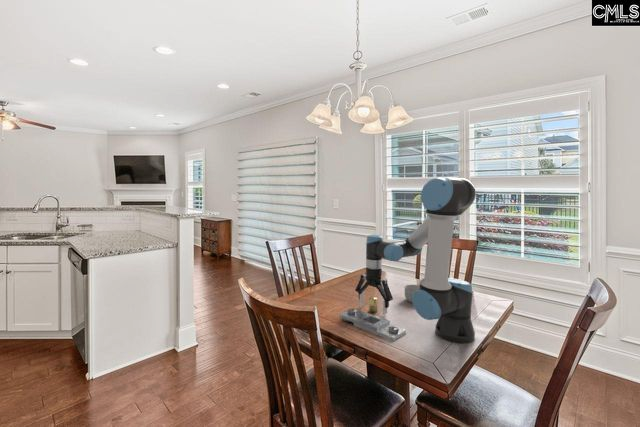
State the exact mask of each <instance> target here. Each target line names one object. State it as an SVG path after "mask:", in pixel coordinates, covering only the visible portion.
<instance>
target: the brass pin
mask: <svg viewBox="0 0 640 427" xmlns="http://www.w3.org/2000/svg"><path fill="white" fill-rule="evenodd" d="M368 313H369V314H372V315H375V314H378V297H376V296H369V297H368Z"/></svg>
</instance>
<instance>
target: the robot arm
mask: <svg viewBox="0 0 640 427" xmlns="http://www.w3.org/2000/svg"><path fill="white" fill-rule="evenodd" d="M476 193H477V192H476V188H475V186H474V185H473V183H472V182H471V181H470V180H469V179H466V178H464V177H436V178H432V179H430V180H428V181H427V183H425V184H424V185H423V187H422V189H421V192H420V201H421V203H422V205H423V207H424V209H425V214H426V215H427V216H428V217H427V218H426V219H425V220H424V221H423V222H422V223H421V224H420V225H419V226H418V227H416V229H415V230H414V231H413V232H412V233H411V234H410V235H409V236H407V238H405V240H401V241H393V242H392V241H391V242H387V241H384V240H383V239H384V238H383V236H382V235H378V234H369V235H368V236H367V237H366V243H365V245H366V251H365V252H366V253H365V256H366V257H365V259H366V260H365V267H366V268H365V273H363V274H361V275H360V279H359V280H358V283H357V285H356V288H355V291H354V292H357V293H358V300H359V307H360V308H362V307H364V306H365V291H366V289H367V288H368V287H369V286H370V287H373V288H376V290H378V292H379V293H380V295H381V297H382V298H383V301H382V315H383V316H384V315H385V316H386V315H387V314H388V308H389V306H390V302H391V301H393V300H394V298H393V295H392V293H391V290H390V288H389V284H388V279H386V278H385V279H382V274H383V273H382V272H383V270H382V267H383V259H385V260H388V261H390V262H399V261H400V260H402V259H403V258H408V257H416V256H418V255H420V254H421V253H422V250H423V247H424V246H425V245H426V244H427V245H426V256H425V264H424V265H425V266H424V268H425V269H424V277H423V278H422V279H421V280H420V281H419V285H420V287H419V290H417V291H416V292H415V293H414V294H413V297H412V302H413V303H412V302H411V303H412V307H413V308H414V310H415V311H416V313H417V314H418V315H419V316H420V317H421V318H422V319H424V320H427V321H433V320H437V321H436V324H435V328H434V331H435V334H436V335H437V336H438V337H439V338H441V339H442V340H445V341H448V342H452V343H456V344H468V343H472V342H473V341H474V340H475V337H476V336H475V335H476V334H475V333H476V332H475V329H474V325H473V322H472V301H473V285H472V283H470V282H469V281H466V280H464V279H463V280H462V279H459V278H452V277H449V274H450V263H451V254H452V244H453V243H452V242H453V236H454V235H453V233H454V224H455V220H456V219H457V218H458V217H459V216H461V215H462V214H464V213H465V212H466V211H467V210H468V209H469V208H470V207H471V206H472V204H474V202H475V199H476V196H477V194H476ZM365 280H366V282H365ZM364 282H365V283H364Z"/></svg>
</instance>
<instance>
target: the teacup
mask: <svg viewBox="0 0 640 427" xmlns="http://www.w3.org/2000/svg"><path fill="white" fill-rule="evenodd" d="M419 287H420V284H405V285H404V287H403V288H404V297H405V299H406V300H407V301H408V302H410V303H412V304H413V302H412V297H413V294H414V293H415V292H416V291H417V290H419Z"/></svg>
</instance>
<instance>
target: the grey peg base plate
mask: <svg viewBox="0 0 640 427" xmlns="http://www.w3.org/2000/svg"><path fill="white" fill-rule="evenodd" d="M339 318H341V320H342V321H343V322H347V323H348V322H351V323H353V326H354V327H356V328H358V329H361V330H363V331H366V332H368V333H371V334H373V335H376V336H379V337H381V338H383V339H386V340H388V341H391V342H395V341H397V340H398V339H400V338H401V337H403V336H404V335H405V334H407V329H405V328H403V327H400V326H397V325H393V324H392V323H390V322H391V320H389V319H386V318H384V317H381V316H378V315H375V314H373V313H369V312H367V311H362V310H360V309H357V308H355V307H354V308H349V309H347V311H344V312H342V313H340V314H339Z"/></svg>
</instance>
